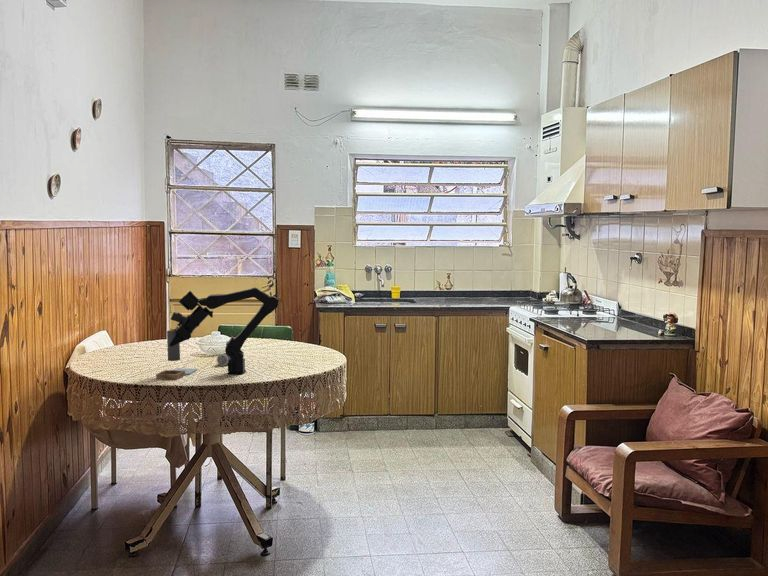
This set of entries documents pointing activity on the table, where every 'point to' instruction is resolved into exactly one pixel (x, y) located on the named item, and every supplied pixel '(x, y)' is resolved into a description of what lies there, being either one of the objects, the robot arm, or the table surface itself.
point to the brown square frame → (170, 374)
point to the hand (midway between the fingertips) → (170, 344)
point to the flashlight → (223, 359)
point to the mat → (187, 370)
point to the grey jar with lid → (172, 350)
